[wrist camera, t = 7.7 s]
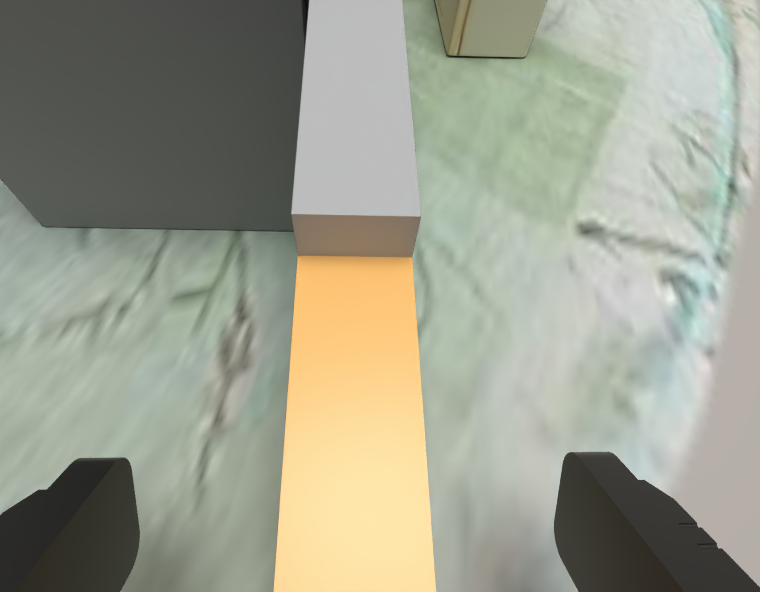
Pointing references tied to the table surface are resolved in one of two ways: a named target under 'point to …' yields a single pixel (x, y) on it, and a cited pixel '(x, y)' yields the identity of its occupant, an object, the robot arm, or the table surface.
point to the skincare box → (489, 26)
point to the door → (355, 319)
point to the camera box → (152, 111)
